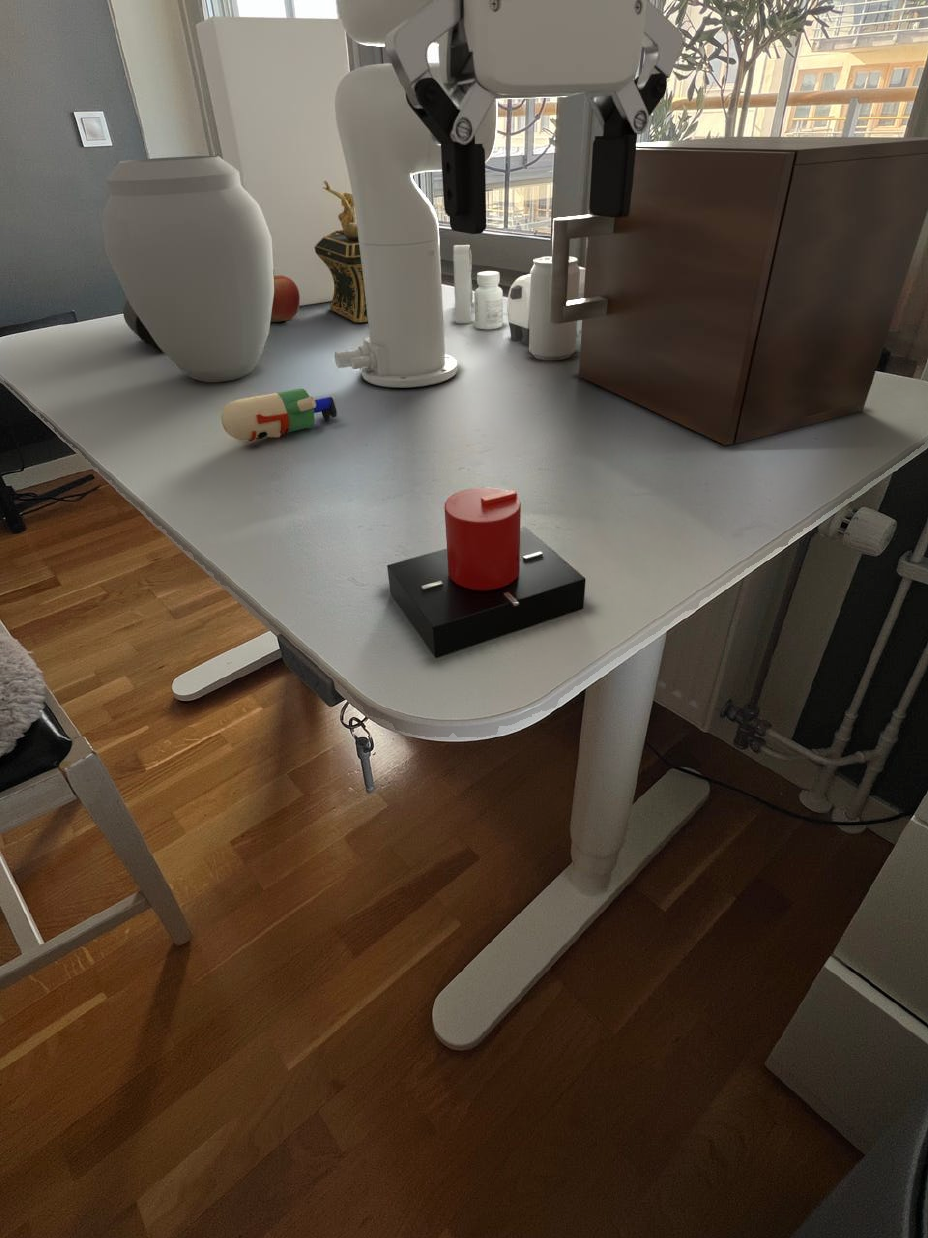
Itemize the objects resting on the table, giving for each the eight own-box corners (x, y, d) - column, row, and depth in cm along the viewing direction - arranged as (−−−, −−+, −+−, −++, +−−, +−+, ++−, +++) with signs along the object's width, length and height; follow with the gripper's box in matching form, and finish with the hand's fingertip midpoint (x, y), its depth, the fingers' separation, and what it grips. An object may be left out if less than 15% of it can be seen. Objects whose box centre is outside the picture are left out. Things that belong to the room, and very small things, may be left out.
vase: (294, 348, 101) (258, 151, 86) (296, 388, 86) (253, 157, 71) (159, 361, 98) (98, 160, 83) (136, 405, 83) (57, 167, 68)
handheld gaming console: (473, 314, 122) (472, 323, 109) (457, 315, 122) (455, 323, 109) (471, 244, 117) (470, 244, 104) (455, 245, 117) (452, 245, 104)
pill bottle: (507, 324, 107) (507, 271, 103) (493, 331, 105) (493, 276, 100) (484, 322, 109) (483, 269, 105) (470, 328, 107) (468, 274, 102)
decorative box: (321, 308, 122) (301, 179, 110) (370, 301, 125) (356, 174, 113) (362, 331, 107) (345, 185, 96) (417, 322, 111) (406, 180, 99)
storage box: (269, 310, 122) (211, 15, 98) (252, 301, 129) (195, 24, 105) (374, 294, 130) (344, 18, 106) (352, 285, 137) (320, 26, 113)
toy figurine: (321, 432, 79) (221, 453, 73) (310, 392, 78) (207, 411, 72) (349, 419, 72) (240, 441, 66) (337, 376, 71) (226, 394, 65)
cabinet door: (669, 460, 64) (716, 158, 50) (531, 385, 83) (536, 151, 69) (733, 443, 66) (795, 152, 52) (584, 374, 85) (600, 147, 71)
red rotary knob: (467, 598, 43) (464, 525, 39) (436, 563, 46) (431, 493, 43) (532, 578, 44) (535, 506, 41) (498, 545, 48) (498, 476, 44)
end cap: (131, 342, 107) (117, 296, 103) (177, 335, 110) (164, 290, 106) (144, 356, 100) (129, 307, 96) (192, 348, 103) (179, 300, 99)
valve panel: (438, 663, 42) (436, 629, 40) (387, 591, 48) (383, 559, 47) (587, 613, 45) (590, 580, 44) (521, 552, 52) (522, 521, 50)
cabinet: (734, 444, 66) (798, 149, 52) (586, 375, 85) (602, 145, 71) (863, 410, 72) (952, 137, 58) (697, 353, 91) (733, 136, 77)
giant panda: (522, 347, 97) (523, 273, 91) (501, 339, 101) (501, 268, 95) (601, 330, 102) (607, 260, 97) (578, 323, 106) (583, 255, 101)
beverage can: (573, 362, 90) (579, 262, 83) (525, 361, 91) (527, 262, 84) (576, 349, 95) (582, 253, 88) (531, 348, 96) (533, 254, 89)
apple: (282, 313, 120) (272, 263, 115) (313, 318, 116) (305, 266, 111) (246, 323, 115) (235, 271, 110) (278, 328, 111) (268, 275, 106)
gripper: (651, -178, 35) (620, 207, 45) (333, -225, 29) (379, 232, 39) (764, -240, 29) (700, 214, 39) (401, -314, 23) (434, 245, 33)
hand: (541, 223), depth 39 cm, fingers open, 9 cm apart
